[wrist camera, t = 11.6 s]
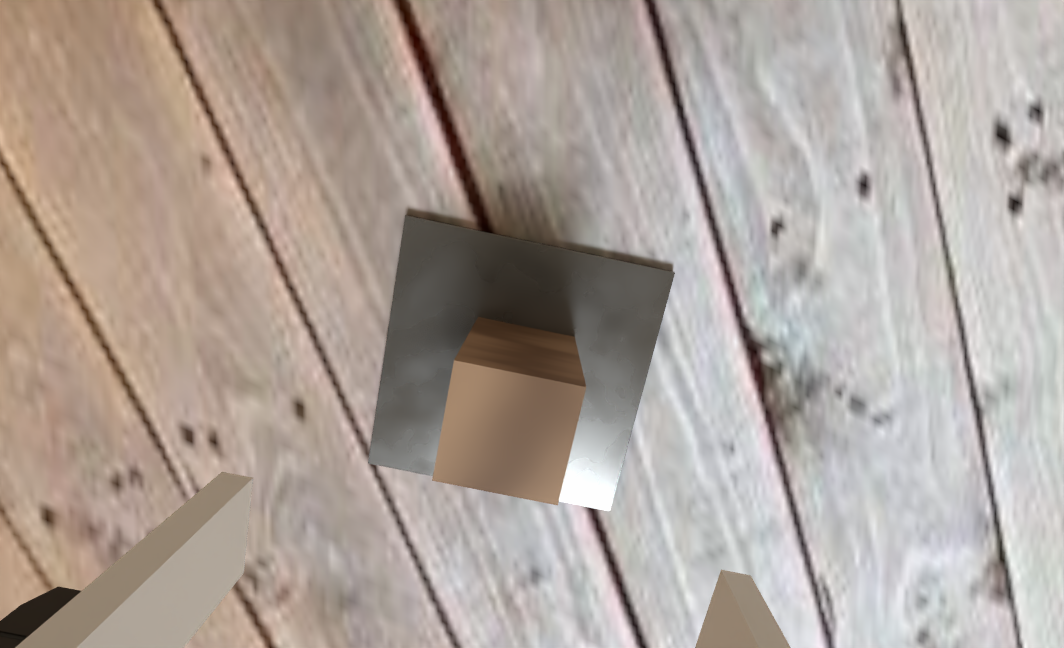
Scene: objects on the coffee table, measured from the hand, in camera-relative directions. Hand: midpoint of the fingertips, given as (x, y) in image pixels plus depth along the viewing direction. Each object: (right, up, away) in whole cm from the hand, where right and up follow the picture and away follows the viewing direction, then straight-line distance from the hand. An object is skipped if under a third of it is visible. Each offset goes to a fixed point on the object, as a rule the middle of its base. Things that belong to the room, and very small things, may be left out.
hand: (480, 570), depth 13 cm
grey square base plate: (0, +4, +16) cm, 16 cm away
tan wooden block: (+1, +4, +15) cm, 16 cm away
